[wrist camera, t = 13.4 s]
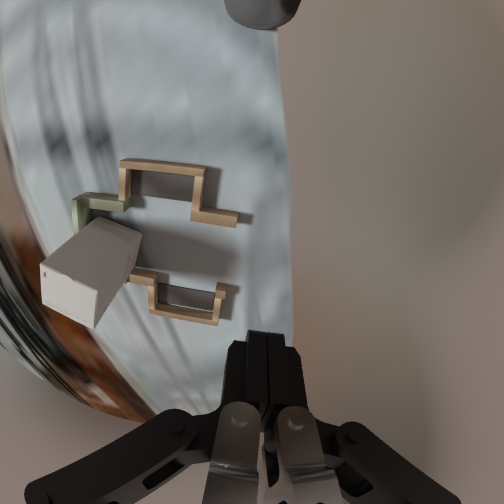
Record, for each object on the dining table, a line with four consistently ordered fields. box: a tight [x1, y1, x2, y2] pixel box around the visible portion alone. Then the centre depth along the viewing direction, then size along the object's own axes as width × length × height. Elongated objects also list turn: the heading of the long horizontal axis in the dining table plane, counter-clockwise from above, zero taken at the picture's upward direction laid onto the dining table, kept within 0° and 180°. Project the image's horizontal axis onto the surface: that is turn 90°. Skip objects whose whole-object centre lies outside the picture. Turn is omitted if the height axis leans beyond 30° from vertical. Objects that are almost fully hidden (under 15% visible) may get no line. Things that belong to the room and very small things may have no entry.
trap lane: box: [71, 158, 238, 326], centre depth 37 cm, size 24×24×4 cm
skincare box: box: [40, 216, 143, 330], centre depth 32 cm, size 8×7×16 cm
